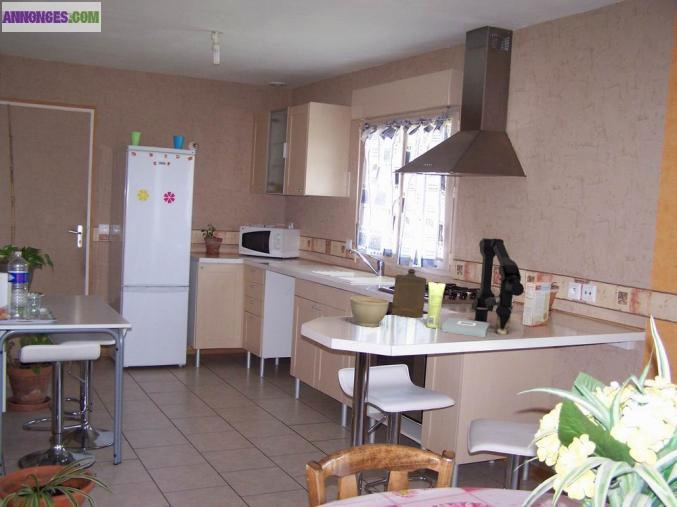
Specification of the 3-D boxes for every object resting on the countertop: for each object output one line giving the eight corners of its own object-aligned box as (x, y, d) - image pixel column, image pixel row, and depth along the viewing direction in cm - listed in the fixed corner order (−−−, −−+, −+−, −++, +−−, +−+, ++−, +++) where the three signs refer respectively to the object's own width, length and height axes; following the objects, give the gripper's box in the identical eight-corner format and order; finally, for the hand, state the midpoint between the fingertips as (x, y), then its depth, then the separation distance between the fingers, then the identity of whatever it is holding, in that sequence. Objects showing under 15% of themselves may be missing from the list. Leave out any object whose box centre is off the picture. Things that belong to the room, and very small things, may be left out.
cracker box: (536, 323, 348) (541, 280, 346) (547, 325, 344) (552, 282, 342) (520, 324, 338) (525, 281, 337) (531, 327, 334) (536, 283, 332)
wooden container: (415, 312, 345) (420, 268, 343) (427, 318, 331) (432, 271, 329) (387, 311, 341) (391, 266, 339) (397, 317, 327) (402, 269, 325)
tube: (431, 325, 311) (436, 281, 310) (441, 327, 308) (445, 283, 306) (423, 326, 307) (428, 282, 306) (433, 328, 304) (438, 283, 302)
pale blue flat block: (448, 323, 320) (449, 317, 320) (489, 329, 316) (489, 322, 315) (441, 331, 299) (442, 324, 299) (484, 337, 294) (485, 330, 294)
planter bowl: (343, 320, 304) (346, 295, 303) (379, 322, 308) (382, 297, 307) (354, 328, 288) (356, 301, 287) (391, 329, 292) (394, 303, 291)
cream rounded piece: (495, 331, 311) (497, 313, 310) (508, 333, 309) (511, 315, 309) (494, 334, 305) (496, 315, 305) (508, 335, 304) (510, 317, 303)
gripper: (489, 288, 317) (485, 322, 318) (485, 292, 299) (481, 328, 300) (514, 291, 314) (510, 325, 315) (512, 295, 296) (508, 332, 297)
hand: (502, 328), depth 307 cm, fingers closed on cream rounded piece, 6 cm apart
